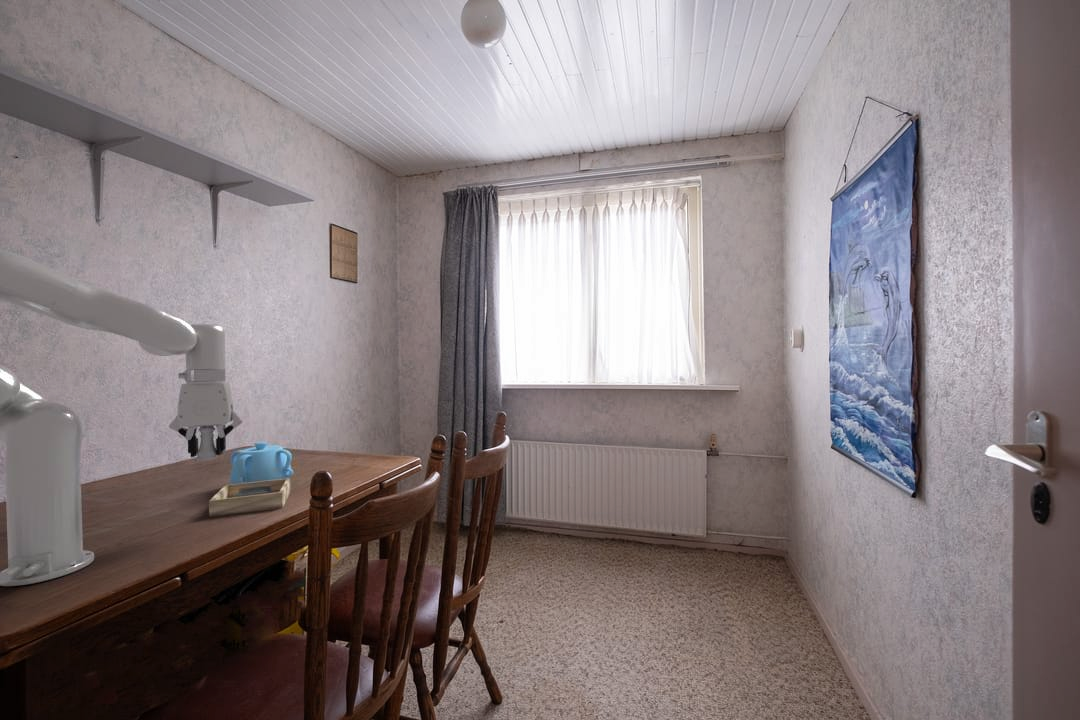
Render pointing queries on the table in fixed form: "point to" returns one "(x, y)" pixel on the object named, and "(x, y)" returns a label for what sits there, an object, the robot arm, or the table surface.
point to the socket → (254, 491)
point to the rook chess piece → (206, 444)
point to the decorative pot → (260, 464)
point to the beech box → (249, 498)
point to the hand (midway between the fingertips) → (207, 454)
